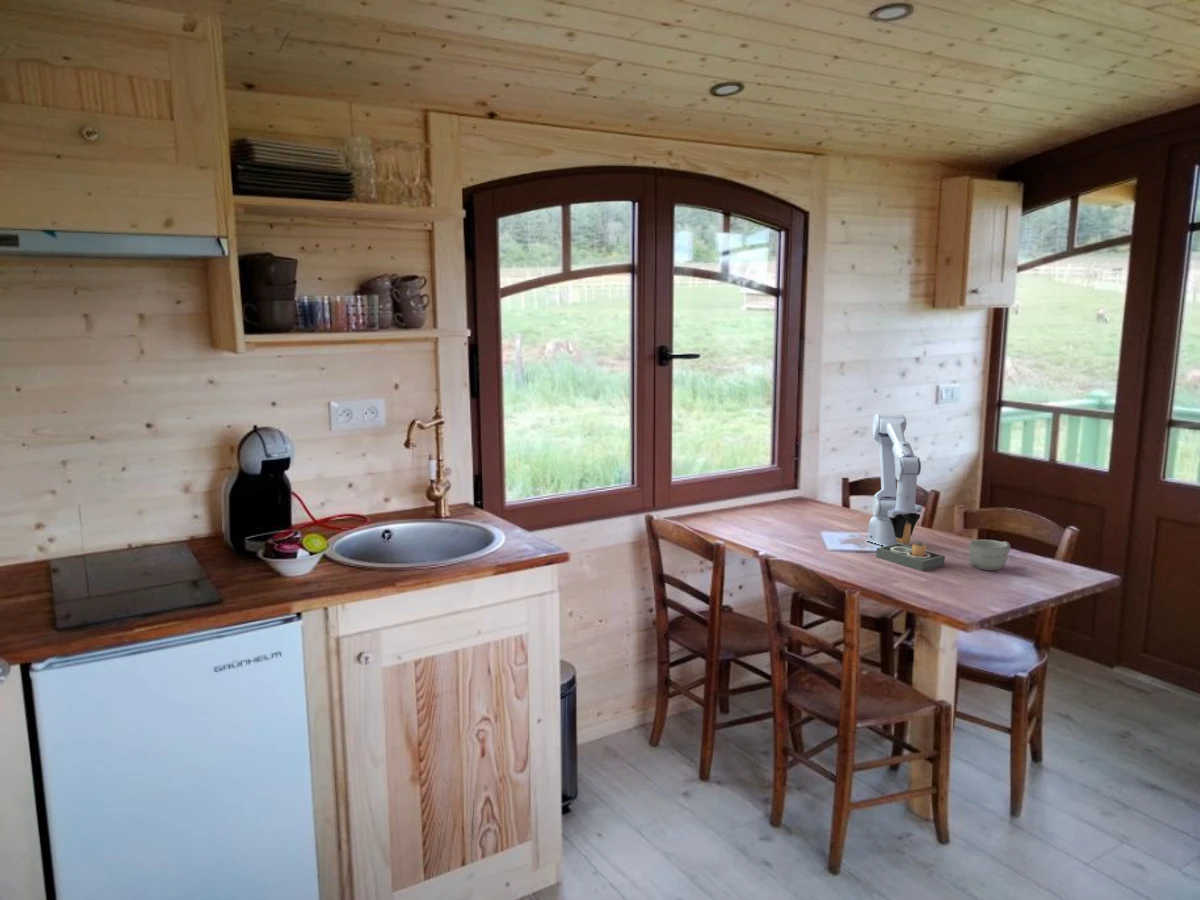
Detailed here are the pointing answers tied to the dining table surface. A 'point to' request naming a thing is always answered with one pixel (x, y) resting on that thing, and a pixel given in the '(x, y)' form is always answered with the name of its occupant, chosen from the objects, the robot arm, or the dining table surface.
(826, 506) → the dining table surface
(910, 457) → the robot arm
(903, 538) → the orange battery
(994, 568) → the teacup
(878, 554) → the housing
